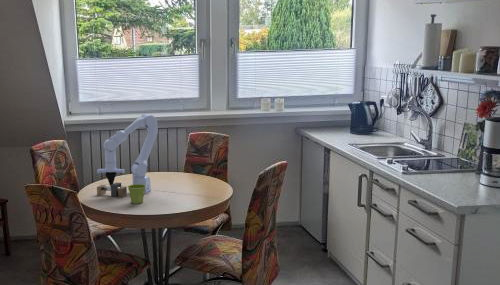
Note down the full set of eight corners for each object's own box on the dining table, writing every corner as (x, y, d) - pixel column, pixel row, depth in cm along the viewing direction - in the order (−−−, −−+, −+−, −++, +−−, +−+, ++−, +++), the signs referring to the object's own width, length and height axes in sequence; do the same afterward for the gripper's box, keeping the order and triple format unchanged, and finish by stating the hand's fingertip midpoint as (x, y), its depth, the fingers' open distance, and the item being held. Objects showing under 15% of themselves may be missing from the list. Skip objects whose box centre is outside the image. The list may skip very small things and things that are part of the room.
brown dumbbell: (126, 194, 290) (126, 186, 289) (122, 197, 285) (122, 188, 284) (102, 192, 294) (101, 184, 293) (97, 195, 289) (96, 186, 289)
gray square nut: (121, 193, 291) (121, 182, 290) (116, 196, 286) (115, 185, 285) (116, 193, 292) (116, 182, 291) (111, 195, 286) (110, 185, 285)
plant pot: (130, 199, 281) (130, 183, 279) (148, 199, 280) (147, 184, 279) (125, 204, 271) (125, 188, 270) (144, 205, 271) (143, 188, 270)
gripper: (125, 160, 290) (126, 184, 293) (99, 159, 290) (100, 183, 293) (122, 162, 283) (123, 187, 286) (95, 162, 284) (96, 187, 286)
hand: (111, 185), depth 289 cm, fingers closed
